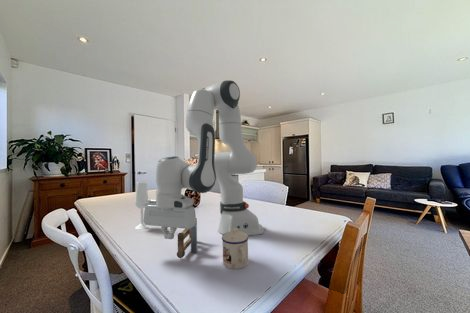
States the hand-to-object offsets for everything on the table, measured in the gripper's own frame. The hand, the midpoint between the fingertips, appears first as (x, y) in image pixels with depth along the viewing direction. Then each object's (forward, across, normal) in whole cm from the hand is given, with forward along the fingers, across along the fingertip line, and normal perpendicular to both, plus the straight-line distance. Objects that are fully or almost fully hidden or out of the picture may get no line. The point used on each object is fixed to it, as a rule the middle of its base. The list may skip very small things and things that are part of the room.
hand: (169, 238), depth 72 cm
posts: (+7, +5, +10) cm, 13 cm away
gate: (+6, +4, +5) cm, 9 cm away
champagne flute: (+7, -34, +25) cm, 42 cm away
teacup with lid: (+7, +26, +1) cm, 26 cm away
